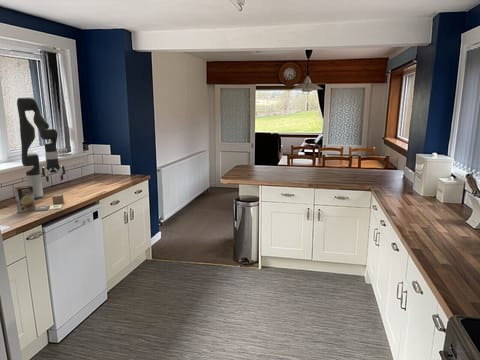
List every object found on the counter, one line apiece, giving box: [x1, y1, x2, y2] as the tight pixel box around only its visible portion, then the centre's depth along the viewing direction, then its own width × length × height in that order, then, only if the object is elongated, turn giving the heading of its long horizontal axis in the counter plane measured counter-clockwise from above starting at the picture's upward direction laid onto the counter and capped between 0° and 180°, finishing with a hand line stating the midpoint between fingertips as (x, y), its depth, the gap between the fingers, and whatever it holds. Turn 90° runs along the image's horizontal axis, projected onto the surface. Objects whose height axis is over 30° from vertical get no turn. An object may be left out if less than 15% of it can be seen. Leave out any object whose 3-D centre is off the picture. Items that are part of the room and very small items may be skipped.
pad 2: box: [48, 203, 64, 211], centre depth 241 cm, size 10×7×1 cm
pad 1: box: [34, 204, 51, 213], centre depth 238 cm, size 10×7×1 cm
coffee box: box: [14, 185, 37, 214], centre depth 234 cm, size 9×6×16 cm
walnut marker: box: [51, 193, 65, 205], centre depth 251 cm, size 6×6×6 cm
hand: (55, 181), depth 248 cm, fingers open, 8 cm apart
